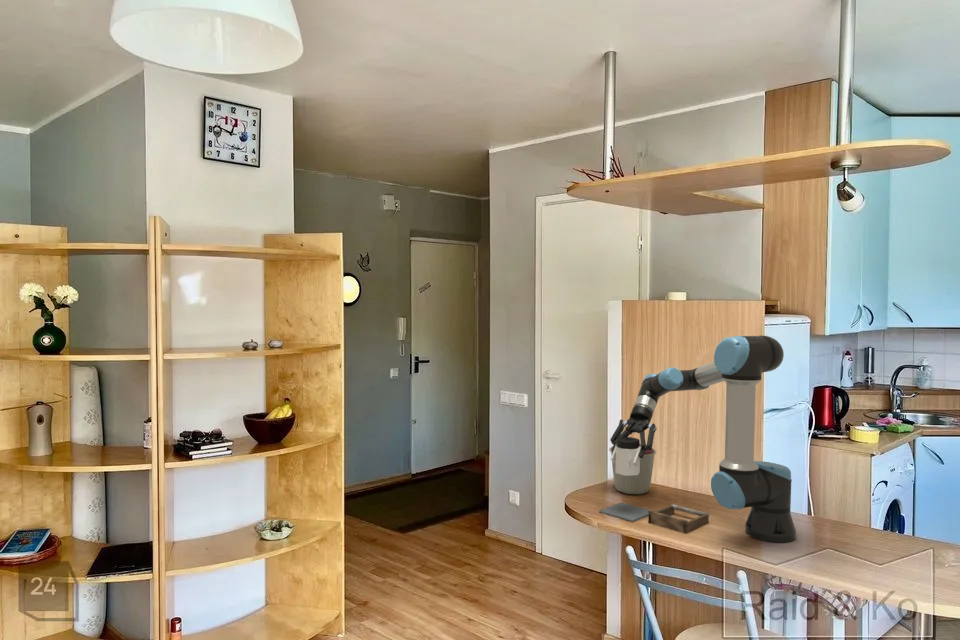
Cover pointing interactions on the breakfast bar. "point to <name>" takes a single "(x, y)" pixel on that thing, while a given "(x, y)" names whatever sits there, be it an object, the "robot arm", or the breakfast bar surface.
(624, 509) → the mat
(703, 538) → the breakfast bar surface
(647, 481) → the canister
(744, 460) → the robot arm
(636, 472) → the jar
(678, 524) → the jar holder
